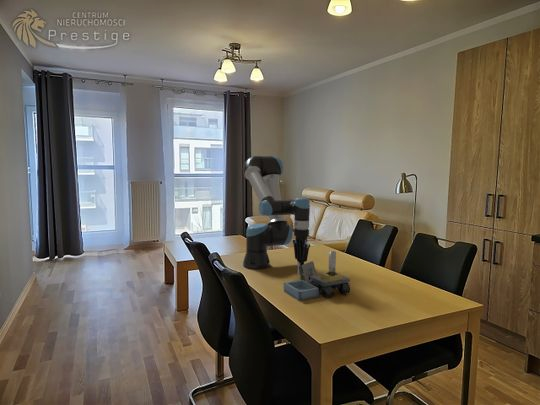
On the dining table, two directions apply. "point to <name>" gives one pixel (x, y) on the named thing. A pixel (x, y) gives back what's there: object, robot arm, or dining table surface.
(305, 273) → the electrical switch
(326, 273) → the trolley
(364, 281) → the dining table surface
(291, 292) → the tray
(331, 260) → the pin
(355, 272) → the dining table surface
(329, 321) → the dining table surface
